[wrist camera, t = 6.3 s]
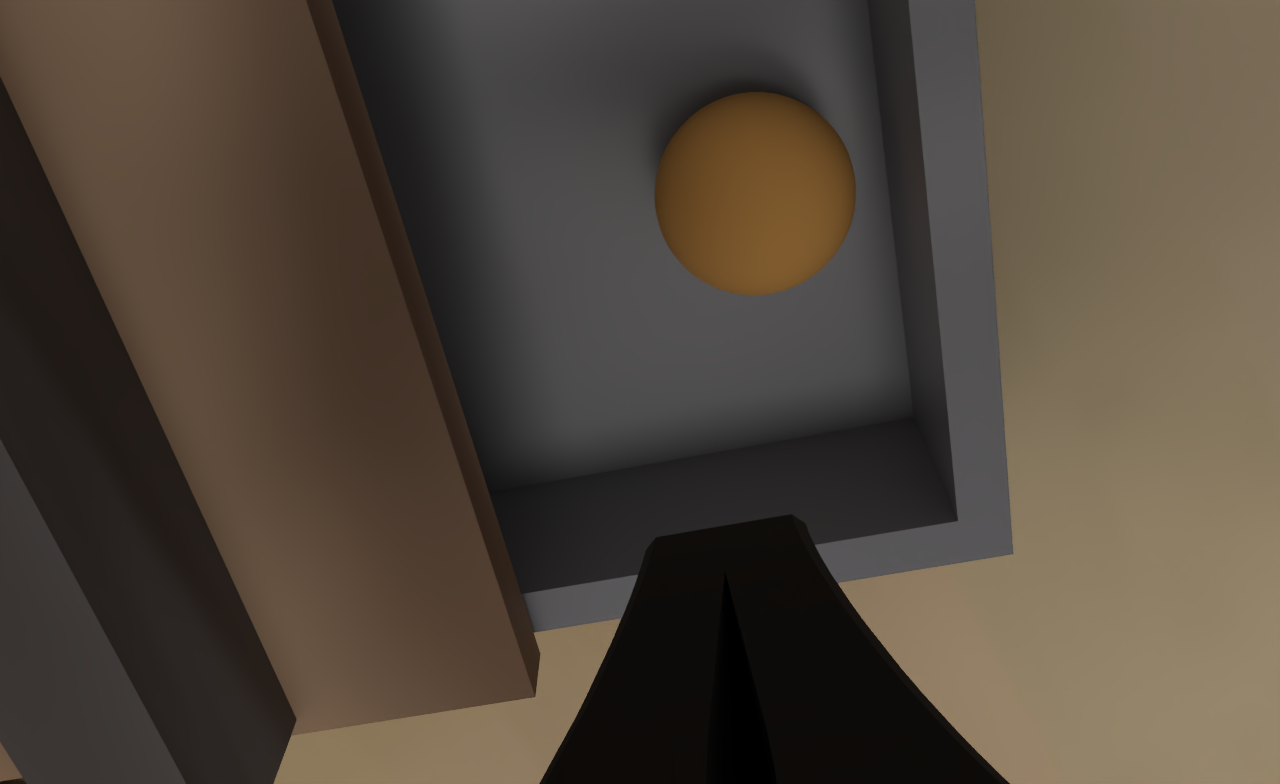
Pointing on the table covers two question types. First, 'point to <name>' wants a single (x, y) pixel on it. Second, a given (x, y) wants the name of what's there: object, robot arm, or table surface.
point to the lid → (221, 408)
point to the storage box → (696, 281)
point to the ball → (755, 193)
